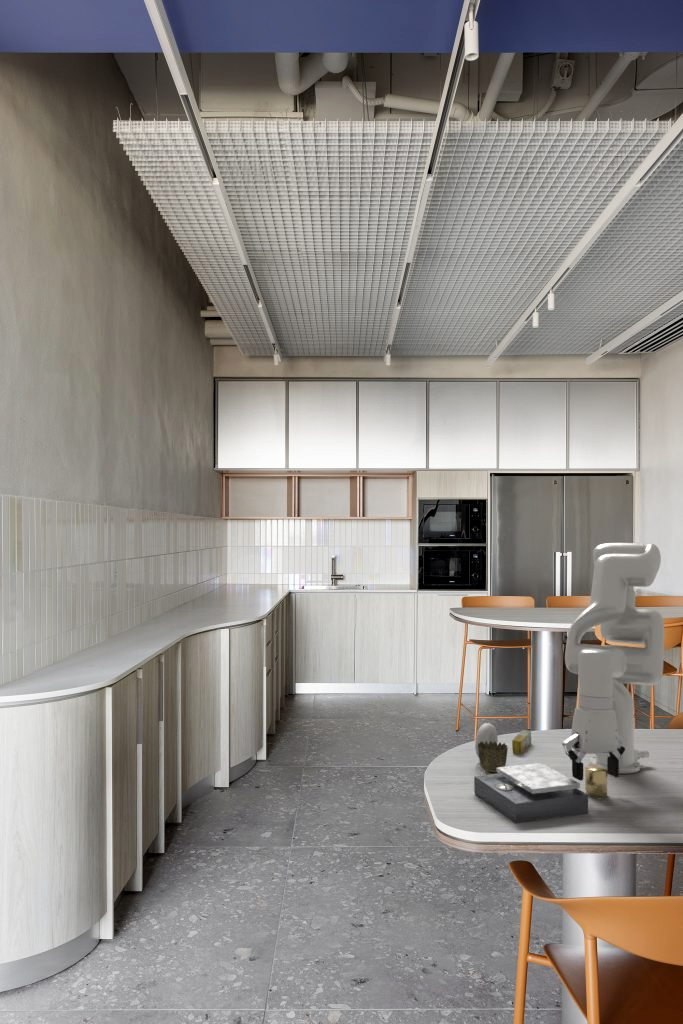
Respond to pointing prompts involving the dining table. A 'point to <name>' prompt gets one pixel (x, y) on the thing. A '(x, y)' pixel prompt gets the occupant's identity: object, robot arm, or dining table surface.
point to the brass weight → (596, 781)
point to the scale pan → (537, 778)
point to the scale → (528, 800)
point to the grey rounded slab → (485, 735)
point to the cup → (492, 756)
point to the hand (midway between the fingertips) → (595, 777)
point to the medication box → (521, 742)
